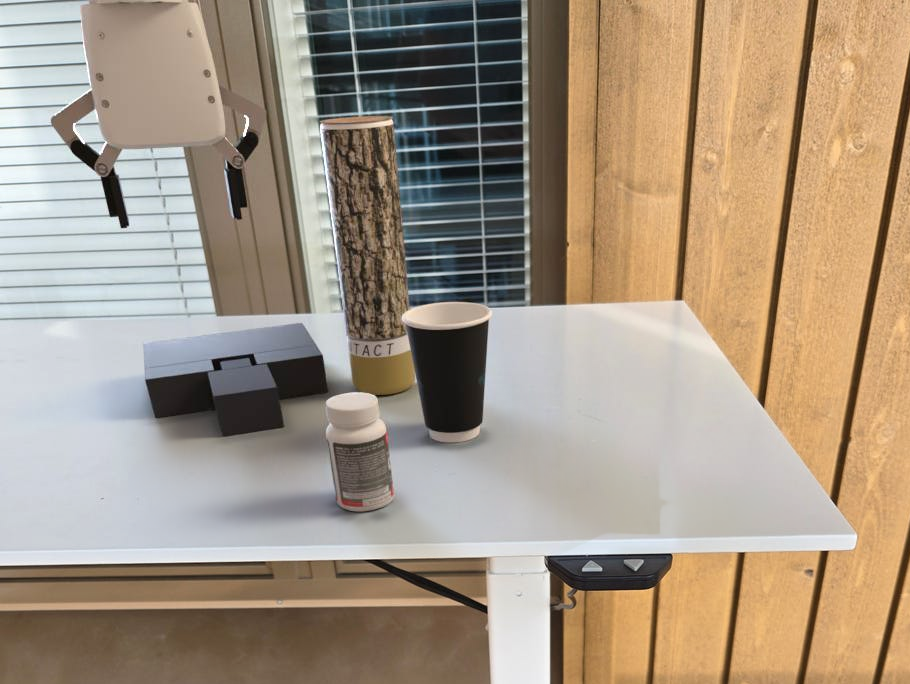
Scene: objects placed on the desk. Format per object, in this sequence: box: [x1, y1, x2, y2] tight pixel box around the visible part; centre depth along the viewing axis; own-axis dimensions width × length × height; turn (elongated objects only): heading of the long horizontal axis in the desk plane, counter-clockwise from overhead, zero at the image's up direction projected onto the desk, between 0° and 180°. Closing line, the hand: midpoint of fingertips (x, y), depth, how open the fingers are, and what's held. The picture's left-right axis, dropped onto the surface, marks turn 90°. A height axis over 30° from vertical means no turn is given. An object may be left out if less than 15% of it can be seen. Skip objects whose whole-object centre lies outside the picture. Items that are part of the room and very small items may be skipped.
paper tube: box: [319, 115, 416, 396], centre depth 88 cm, size 7×7×25 cm
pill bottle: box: [325, 391, 395, 513], centre depth 70 cm, size 5×5×8 cm
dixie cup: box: [402, 301, 493, 444], centre depth 81 cm, size 8×8×11 cm
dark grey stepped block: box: [208, 358, 285, 437], centre depth 90 cm, size 6×11×4 cm, turn 18°
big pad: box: [142, 322, 329, 419], centre depth 97 cm, size 18×14×4 cm
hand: (181, 221), depth 79 cm, fingers open, 9 cm apart
